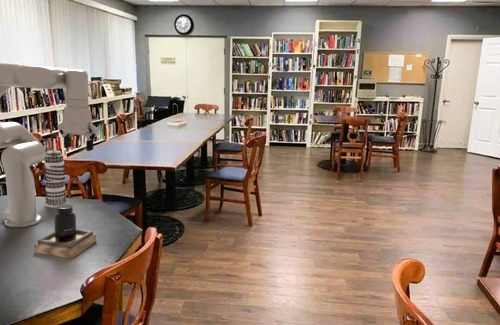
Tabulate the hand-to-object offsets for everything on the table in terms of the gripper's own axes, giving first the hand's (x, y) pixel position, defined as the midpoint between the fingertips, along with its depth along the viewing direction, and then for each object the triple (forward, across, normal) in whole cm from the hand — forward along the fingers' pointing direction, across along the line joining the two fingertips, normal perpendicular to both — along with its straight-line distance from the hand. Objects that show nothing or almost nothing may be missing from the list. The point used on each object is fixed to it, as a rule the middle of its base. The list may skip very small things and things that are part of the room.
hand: (78, 148), depth 144 cm
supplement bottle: (+29, +6, -16) cm, 34 cm away
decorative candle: (+32, -27, +18) cm, 46 cm away
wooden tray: (+32, +7, -16) cm, 36 cm away
